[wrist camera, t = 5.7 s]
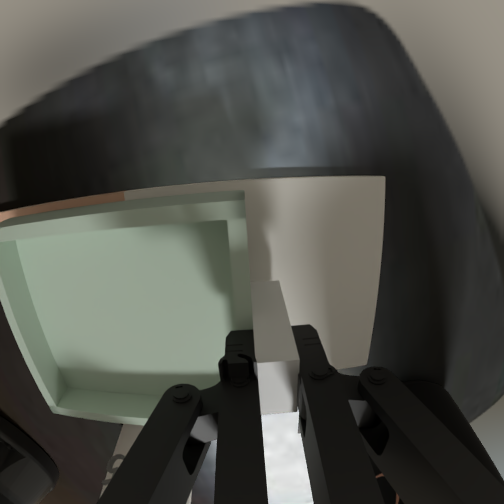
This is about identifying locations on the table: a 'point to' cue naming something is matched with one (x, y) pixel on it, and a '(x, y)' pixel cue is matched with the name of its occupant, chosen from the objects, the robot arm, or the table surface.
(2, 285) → the mint green tray
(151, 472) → the robot arm
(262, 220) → the board
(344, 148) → the table surface
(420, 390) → the coffee jar
